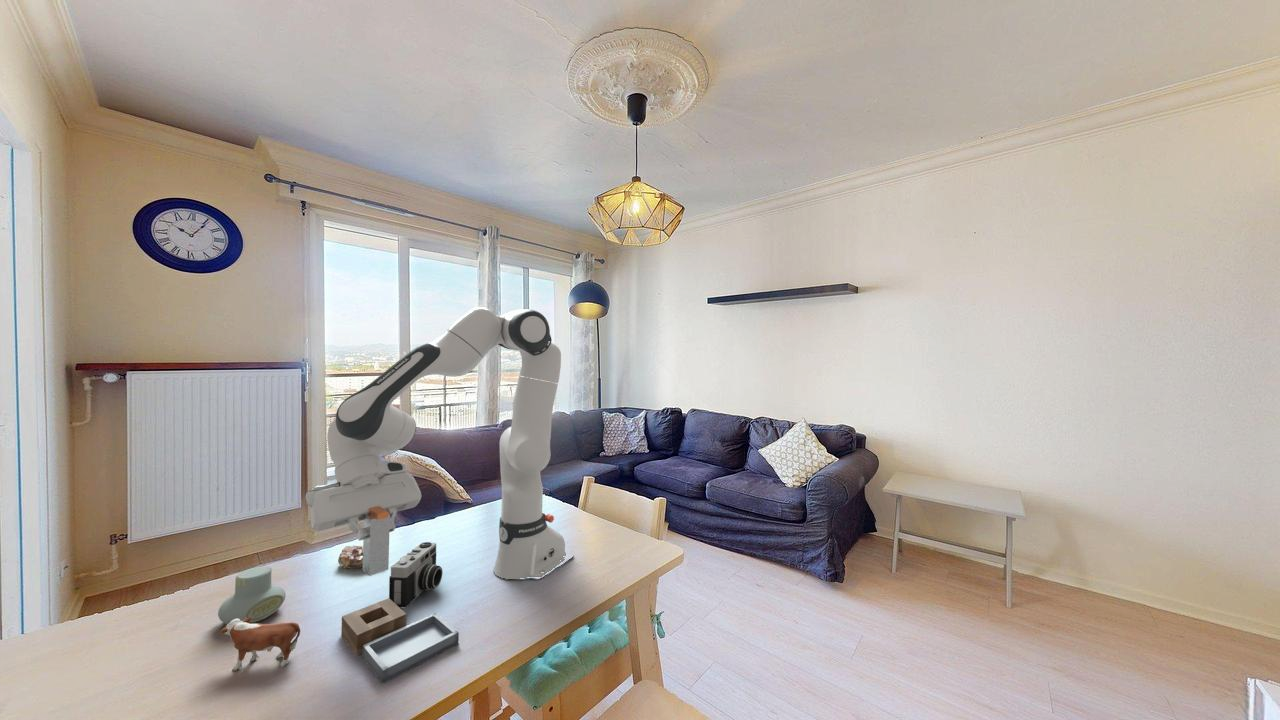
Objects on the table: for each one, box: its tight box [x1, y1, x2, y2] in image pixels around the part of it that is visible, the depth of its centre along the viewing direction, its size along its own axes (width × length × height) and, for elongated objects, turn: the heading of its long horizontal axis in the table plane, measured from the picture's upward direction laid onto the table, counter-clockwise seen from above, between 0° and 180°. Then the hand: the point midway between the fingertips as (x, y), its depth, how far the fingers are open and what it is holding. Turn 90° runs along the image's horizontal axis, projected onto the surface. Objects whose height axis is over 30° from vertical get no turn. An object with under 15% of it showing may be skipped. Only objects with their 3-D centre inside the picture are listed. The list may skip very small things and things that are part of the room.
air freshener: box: [217, 565, 286, 625], centre depth 93 cm, size 11×8×10 cm
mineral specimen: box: [337, 545, 363, 570], centre depth 117 cm, size 12×8×7 cm
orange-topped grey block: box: [362, 506, 390, 577], centre depth 88 cm, size 4×6×13 cm, turn 51°
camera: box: [388, 541, 443, 608], centre depth 104 cm, size 14×9×10 cm, turn 170°
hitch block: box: [340, 597, 407, 656], centre depth 88 cm, size 9×9×4 cm
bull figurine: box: [220, 618, 301, 672], centre depth 79 cm, size 4×13×8 cm, turn 95°
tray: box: [361, 612, 460, 685], centre depth 84 cm, size 14×10×2 cm
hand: (377, 534), depth 88 cm, fingers closed on orange-topped grey block, 4 cm apart
